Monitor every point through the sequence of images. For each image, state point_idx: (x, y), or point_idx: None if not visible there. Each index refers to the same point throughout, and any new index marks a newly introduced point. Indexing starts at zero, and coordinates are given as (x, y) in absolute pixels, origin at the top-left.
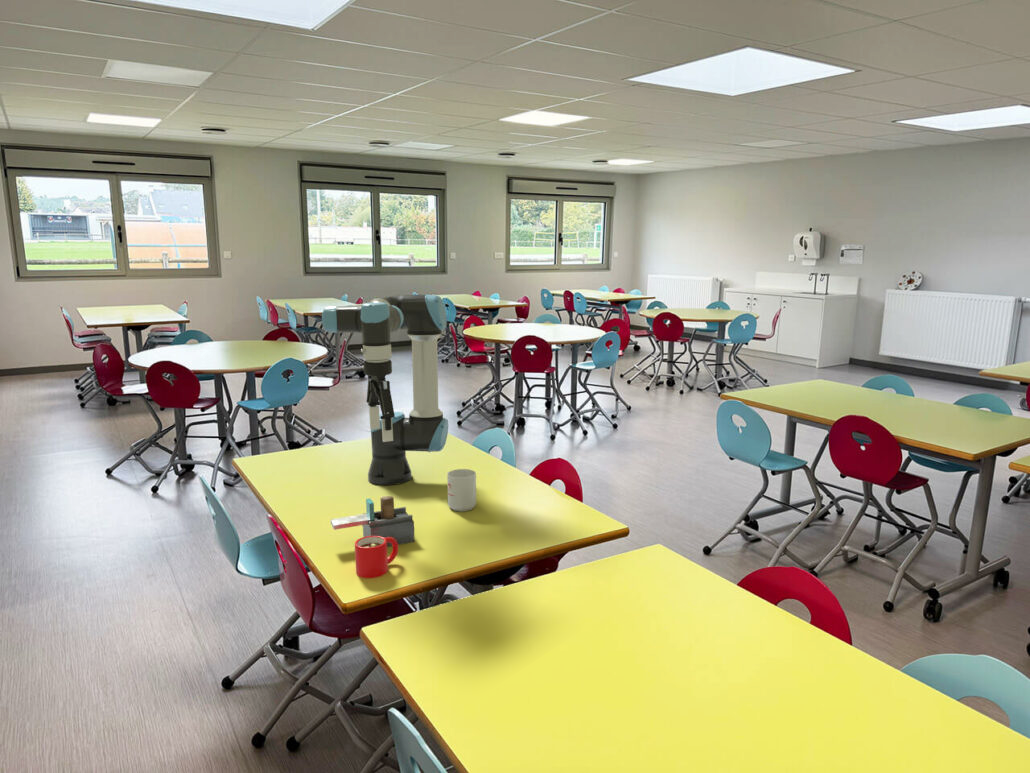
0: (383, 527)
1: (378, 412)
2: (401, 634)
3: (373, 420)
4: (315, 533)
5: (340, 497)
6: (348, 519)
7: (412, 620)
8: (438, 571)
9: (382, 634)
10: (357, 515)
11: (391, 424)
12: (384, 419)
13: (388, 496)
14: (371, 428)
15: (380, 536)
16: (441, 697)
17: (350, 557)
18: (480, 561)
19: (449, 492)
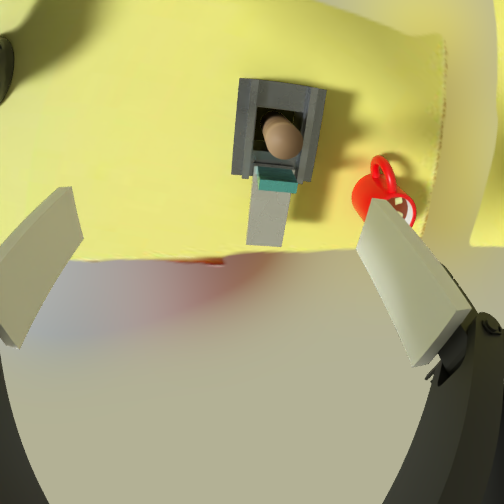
0: (315, 155)
1: (10, 258)
2: (484, 224)
3: (53, 256)
4: (180, 228)
5: (37, 162)
6: (266, 216)
7: (480, 207)
8: (431, 120)
9: (474, 237)
10: (253, 195)
11: (440, 272)
12: (434, 347)
13: (273, 133)
14: (80, 238)
15: (387, 197)
16: None
17: (310, 206)
18: (438, 54)
19: None
